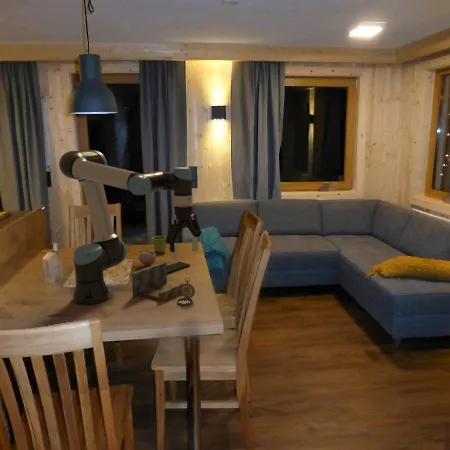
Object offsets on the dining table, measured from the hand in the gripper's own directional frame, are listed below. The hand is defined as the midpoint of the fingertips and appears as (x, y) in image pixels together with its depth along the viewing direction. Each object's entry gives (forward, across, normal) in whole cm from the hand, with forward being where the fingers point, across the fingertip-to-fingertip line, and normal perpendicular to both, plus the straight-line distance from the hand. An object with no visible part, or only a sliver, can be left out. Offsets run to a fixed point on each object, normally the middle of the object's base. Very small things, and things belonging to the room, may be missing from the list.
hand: (184, 255), depth 175 cm
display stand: (+21, +1, +16) cm, 26 cm away
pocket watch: (+21, 0, 0) cm, 21 cm away
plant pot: (+21, +51, +64) cm, 85 cm away
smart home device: (+22, +29, +35) cm, 50 cm away
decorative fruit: (+21, +26, +50) cm, 60 cm away
